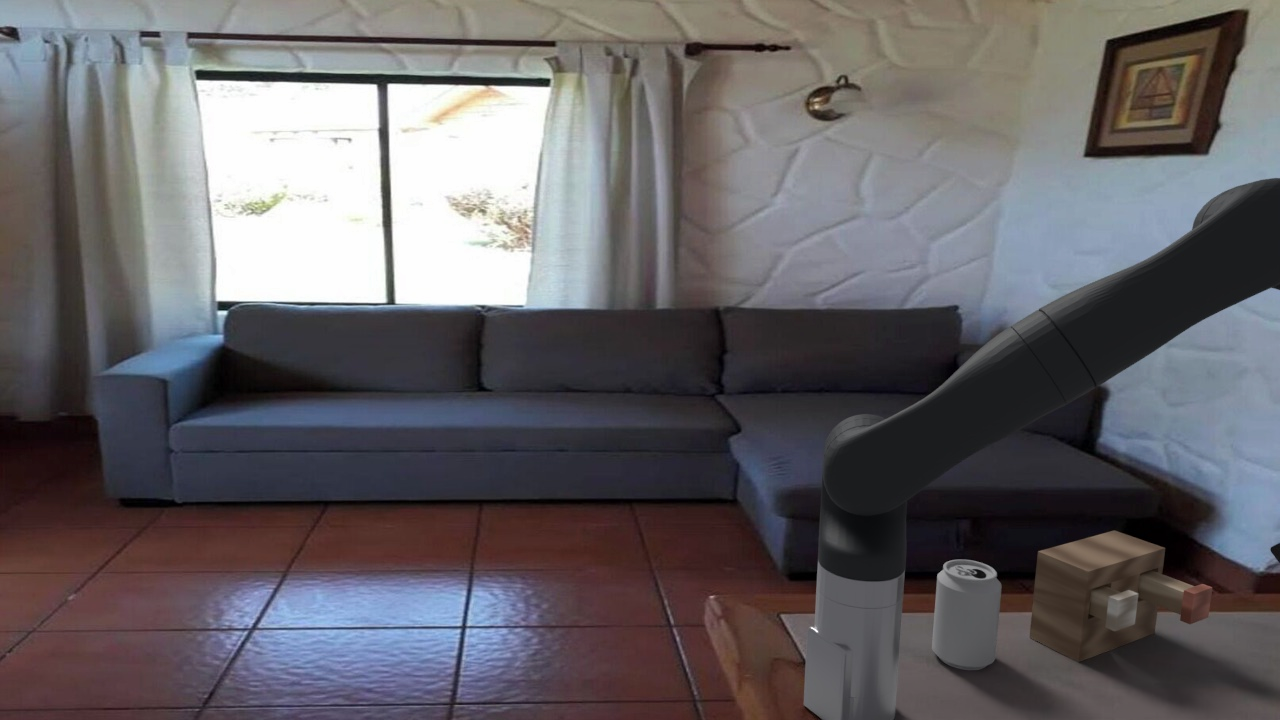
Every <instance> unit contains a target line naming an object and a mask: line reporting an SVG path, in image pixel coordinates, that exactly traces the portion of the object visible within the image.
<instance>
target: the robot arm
mask: <svg viewBox="0 0 1280 720" xmlns="http://www.w3.org/2000/svg"><path fill="white" fill-rule="evenodd" d="M1270 289H1275V290H1277V291H1280V177H1272V178H1265V179H1259V180H1256V181H1252V182H1248V183H1244V184H1241V185H1237V186H1234V187H1231V188H1229V189H1227V190H1223V191H1222V192H1221V193H1219V194H1217V195H1216V196H1214V197H1213V198H1211V199H1209V200H1208V202H1206V203H1205V204H1204V205H1203V206H1202V208H1201V209H1200V210H1199V211H1198V213H1197V214H1196V216H1195V218H1194V220H1193V224H1192V228H1191V230H1189V231H1188V232H1186V233H1185V234H1184V235H1183V236H1180V237H1179V238H1178V239H1177V240H1175V241H1174V242H1172V243H1171V244H1169V245H1168V246H1166V247H1165V248H1163V249H1161V250H1160V251H1158V252H1157V253H1155V254H1154V255H1151V256H1150V257H1147V258H1146V259H1144V260H1142V261H1140V262H1138V263H1136V264H1133V265H1131V266H1129V267H1127V268H1124V269H1121V270H1119V271H1117V272H1114V273H1112V274H1110V275H1107V276H1104V277H1103V278H1100V279H1097V280H1095V281H1093V282H1091V283H1088V284H1085V285H1083V286H1082V287H1079V288H1077V289H1075V290H1072V291H1070V292H1068V293H1066V294H1064V295H1063V296H1061V297H1058V298H1057V299H1054V300H1052V301H1051V302H1049V303H1048V304H1047V303H1046V305H1043V306H1041V307H1040V308H1038V309H1037V310H1035V311H1033V312H1032V313H1030V314H1028V315H1027V316H1025V317H1023V318H1022V319H1020V320H1018V321H1017V322H1015V323H1014V324H1012V325H1010V326H1009V327H1007V328H1005V329H1004V330H1002V331H1001V332H1000V333H998V334H997V335H996V336H994V337H993V338H992V339H990V340H989V341H987V342H986V343H985V344H983V346H981V347H980V348H979V349H978V350H977V351H976V352H975V353H973V354H972V356H970V357H969V358H968V360H966V361H965V362H964V363H963V364H962V365H961V366H960V367H959V368H958V369H957V370H955V372H953V374H951V375H950V377H948V379H946V380H945V381H944V382H943V383H942V384H941V385H939V386H938V388H936V389H935V390H933V391H932V392H931V393H930V394H928V395H927V396H925V397H923V398H922V399H920V400H919V401H917V402H915V403H914V404H912V405H910V406H907V408H904V409H903V410H900V411H899V412H897V413H895V414H893V415H891V416H889V417H888V418H884V417H882V416H880V415H877V414H869V413H863V414H856V415H852V416H850V417H847V418H844V419H843V420H842V421H840V422H839V423H838V424H836V425H835V426H834V427H833V428H832V430H831V431H830V432H829V434H828V436H827V438H826V440H825V442H824V447H823V454H822V471H821V472H822V474H821V493H820V495H821V496H820V513H819V527H818V529H819V530H818V549H817V551H818V552H817V573H816V589H815V591H816V592H815V608H814V609H815V611H814V625H810V626H809V627H808V628H807V630H806V644H805V645H806V648H805V649H806V650H805V651H806V652H805V669H804V687H803V689H804V690H803V691H804V692H803V706H805V707H806V709H808V710H809V711H811V712H812V713H813V714H815V716H817V717H819V718H820V719H821V720H894V719H895V716H896V704H897V691H898V677H899V675H898V673H899V664H900V663H899V661H900V646H901V645H900V643H901V634H902V633H901V631H902V618H903V617H902V616H903V615H902V614H903V604H904V603H903V602H904V591H905V590H904V589H905V588H904V587H905V586H904V585H905V574H906V573H905V572H906V563H907V551H908V550H907V549H908V548H907V547H908V546H907V511H908V510H907V508H908V501H909V500H910V499H912V498H913V497H914V496H916V495H917V494H918V493H920V492H921V491H922V490H923V489H925V488H926V487H927V486H929V485H930V484H932V483H933V482H934V481H936V480H938V479H939V478H941V476H943V475H944V474H946V473H947V472H949V471H950V470H951V469H952V468H954V467H955V466H958V464H960V463H962V462H963V461H964V460H966V459H968V458H970V457H971V456H973V455H974V454H976V453H978V452H980V451H981V450H983V449H985V448H988V447H989V446H992V445H994V444H995V443H998V442H999V441H1001V440H1004V439H1005V438H1007V437H1009V436H1012V435H1013V434H1015V433H1016V432H1019V431H1020V430H1022V429H1023V428H1025V427H1027V426H1029V425H1031V424H1032V423H1034V422H1036V421H1038V420H1040V419H1041V418H1043V417H1045V416H1047V415H1049V414H1051V413H1053V412H1055V411H1057V410H1059V409H1060V408H1063V407H1065V406H1066V405H1068V404H1070V403H1072V402H1074V401H1075V400H1077V399H1079V398H1080V397H1082V396H1084V395H1086V394H1088V393H1089V392H1090V391H1092V390H1095V388H1098V387H1100V386H1101V385H1103V384H1104V383H1106V382H1107V381H1109V380H1110V379H1112V378H1114V377H1116V376H1117V375H1119V374H1120V373H1122V372H1124V371H1125V370H1127V369H1128V368H1130V367H1132V366H1133V365H1135V364H1137V363H1138V362H1140V361H1141V360H1143V359H1145V358H1146V357H1147V356H1149V355H1151V354H1152V353H1154V352H1156V351H1157V350H1158V349H1159V348H1161V347H1163V346H1165V345H1166V344H1167V343H1169V342H1171V341H1173V339H1175V338H1177V337H1178V336H1179V335H1181V334H1182V333H1184V332H1185V331H1187V330H1189V329H1191V328H1192V327H1193V326H1195V325H1197V324H1198V323H1200V322H1202V321H1204V320H1206V319H1208V318H1210V317H1212V316H1213V315H1216V314H1217V313H1220V312H1221V311H1222V312H1223V310H1226V309H1228V308H1231V307H1232V306H1234V305H1237V304H1239V303H1241V302H1243V301H1245V300H1247V299H1249V298H1251V297H1253V296H1256V295H1258V294H1260V293H1263V292H1265V291H1267V290H1270ZM1269 550H1270V552H1271V554H1272V555H1273V557H1274V559H1276V560H1277V562H1278V563H1279V564H1280V542H1278V543H1277V544H1275V545H1273V546H1271V547H1270V549H1269Z"/></svg>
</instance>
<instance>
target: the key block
mask: <svg viewBox="0 0 1280 720" xmlns="http://www.w3.org/2000/svg"><path fill="white" fill-rule="evenodd" d="M1165 552H1166V547H1164V546H1160V545H1158V544H1155V543H1151V542H1149V541H1146V540H1143V539H1140V538H1138V537H1134V536H1132V535H1129V534H1127V533H1123V532H1120V531H1118V530H1111V531H1106V532H1104V533H1100V534H1096V535H1093V536H1088V537H1085V538H1082V539H1078V540H1075V541H1071V542H1067V543H1064V544H1060V545H1056V546H1052V547H1049V548H1045V549H1041V550H1038V551H1037V556H1036V557H1037V559H1036V568H1035V576H1034V577H1035V578H1034V588H1033V589H1034V590H1033V599H1032V609H1031V619H1030V629H1029V637H1030V639H1031V638H1032V639H1031V640H1033V639H1034V641H1035V640H1036V641H1035V642H1037V641H1038V643H1039V642H1040V643H1039V644H1041V643H1042V644H1041V645H1043V646H1045V645H1046V646H1045V647H1047V646H1048V647H1047V648H1049V647H1050V649H1051V648H1052V649H1051V650H1053V649H1054V650H1053V651H1054V652H1057V653H1059V654H1061V655H1063V656H1065V657H1067V658H1069V659H1071V660H1072V661H1075V662H1076V663H1080V662H1082V661H1084V660H1088V659H1091V658H1094V657H1097V656H1099V655H1101V654H1104V653H1106V652H1109V651H1112V650H1114V649H1118V648H1119V647H1122V646H1125V645H1128V644H1131V643H1132V642H1136V641H1138V640H1141V639H1143V638H1146V637H1148V636H1151V635H1153V634H1155V633H1156V625H1157V617H1158V609H1159V606H1158V605H1155V604H1153V603H1150V602H1148V601H1145V600H1143V599H1140V598H1138V602H1137V610H1136V619H1135V624H1134V625H1131V626H1128V627H1126V628H1123V629H1120V630H1118V631H1112V630H1110V629H1108V628H1106V627H1105V626H1106V621H1104V620H1101V619H1099V618H1097V617H1095V616H1093V615H1090V614H1089V605H1090V596H1091V589H1093V588H1096V587H1100V586H1103V585H1104V586H1107V587H1109V588H1112V589H1114V590H1116V591H1119V592H1124V591H1127V590H1131V591H1133V592H1136V593H1138V588H1139V579H1140V573H1143V572H1146V571H1149V570H1152V571H1155V572H1158V573H1160V574H1163V569H1164V564H1165V563H1164V562H1165V554H1166V553H1165Z"/></svg>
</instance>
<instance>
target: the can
mask: <svg viewBox="0 0 1280 720" xmlns="http://www.w3.org/2000/svg"><path fill="white" fill-rule="evenodd" d="M936 575H937V576H936V589H935V601H934V602H935V603H934V614H933V626H932V627H933V629H932V639H931V640H932V642H931V650H932V651H933V653H934V654H936V656H937V657H938V658H939V659H940V661H941V662H943V663H945V664H946V665H948V666H950V667H952V668H956V669H959V670H965V671H978V670H982V669H984V668H986V667H987V666H989V665H991V664H993V663H994V661H995V660H996V653H997V652H996V651H997V642H998V630H999V621H1000V620H999V618H1000V609H1001V600H1002V599H1001V597H1002V596H1001V595H1002V583H1001V582H1000V581H999V579H998V578H997V577H998V572H997V571H996V570H995V569H994V568H993V567H992V566H990V565H988V564H986V563H983V562H982V561H981V562H979V561H976V560H971V559H952V560H949V561H946V562H944V564H943V566H942V570H941V571H940V572H938V573H937V574H936Z"/></svg>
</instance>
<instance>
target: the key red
mask: <svg viewBox="0 0 1280 720" xmlns="http://www.w3.org/2000/svg"><path fill="white" fill-rule="evenodd" d="M1212 592H1213V587H1212V586H1210V585H1206V584H1204V583H1201V584H1198V585H1195V586H1194V585H1192V584H1189V583H1186V582H1184V581H1181V580H1178V579H1175V578H1174V577H1171V576H1168V575H1166V574H1163V573H1162V574H1160V573H1158V572H1155V571H1152V570H1149V571H1146V572H1143V573H1140V579H1139V588H1138V598H1140V599H1143V600H1145V601H1148V602H1150V603H1153V604H1155V605H1158V607H1160V608H1163V609H1165V610H1168V611H1171V612H1173V613H1174V614H1175V613H1176V614H1177V615H1180V618H1179V621H1181V622H1183V623H1185V624H1187V625H1192V624H1195V623H1198V622H1201V621H1203V620H1206V619H1208V618H1209V617H1210V608H1211V607H1210V606H1211V603H1212V602H1211V601H1212V600H1211V599H1212V595H1213V594H1212Z"/></svg>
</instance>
